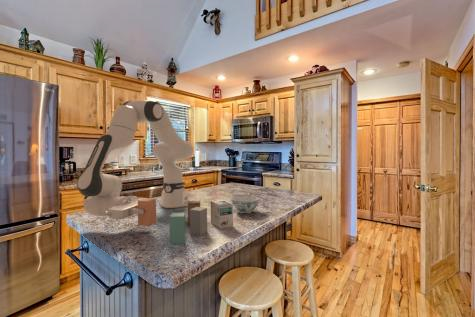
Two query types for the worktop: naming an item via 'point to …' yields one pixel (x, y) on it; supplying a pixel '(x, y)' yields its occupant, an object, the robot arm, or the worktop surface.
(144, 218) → the terracotta block
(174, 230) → the muted teal block
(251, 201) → the chinaware
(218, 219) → the light bulb box
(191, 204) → the walnut block
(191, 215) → the slate-grey block
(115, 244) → the worktop surface
